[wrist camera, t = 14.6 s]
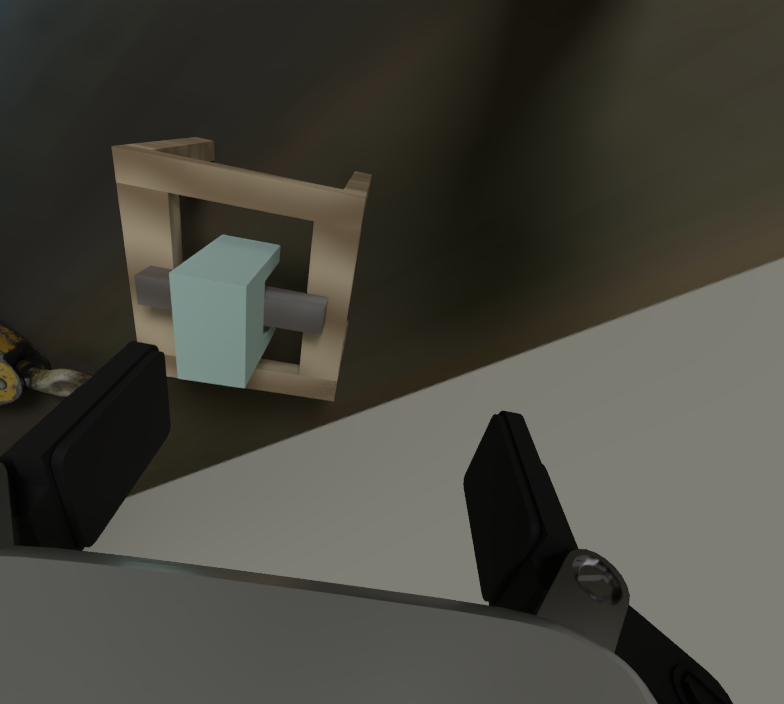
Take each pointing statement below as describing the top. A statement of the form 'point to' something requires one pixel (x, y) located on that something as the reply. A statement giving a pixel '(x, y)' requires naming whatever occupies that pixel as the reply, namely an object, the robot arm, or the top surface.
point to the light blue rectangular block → (222, 310)
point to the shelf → (251, 191)
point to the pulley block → (31, 370)
